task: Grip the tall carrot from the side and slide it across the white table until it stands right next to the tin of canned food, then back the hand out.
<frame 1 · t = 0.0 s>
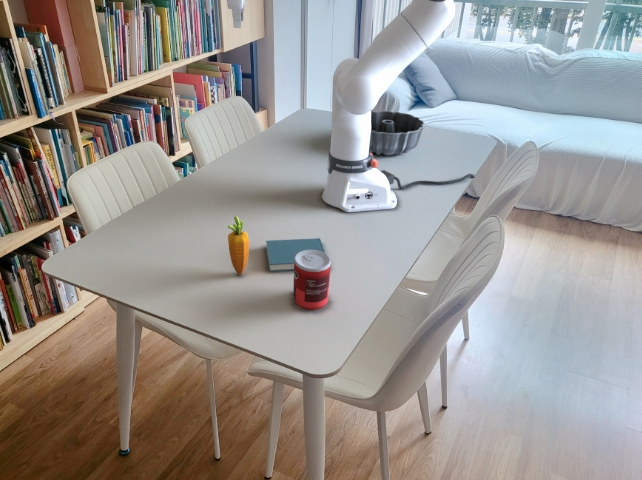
hand: (238, 24, 131), 48 cm above the table, tool pointing down, fingers open, 8 cm apart
canned food: (310, 300, 117), on the table
carrot: (240, 275, 125), on the table
blue hardcover book: (295, 258, 131), on the table
bundt pan: (384, 148, 195), on the table
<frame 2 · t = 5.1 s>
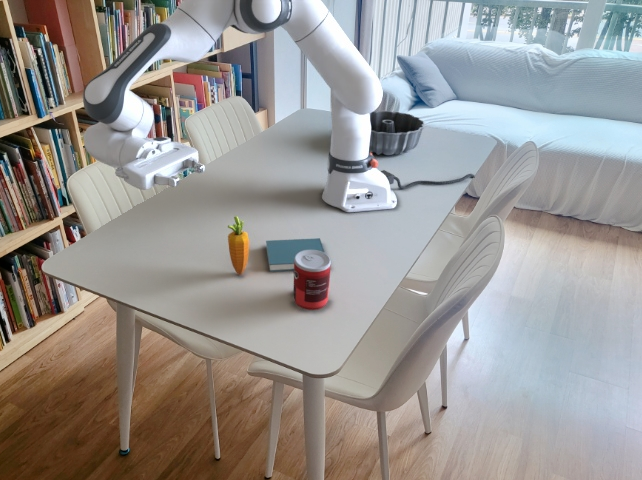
hand: (190, 175, 118), 22 cm above the table, tool horizontal, fingers open, 8 cm apart
nothing on the table moved.
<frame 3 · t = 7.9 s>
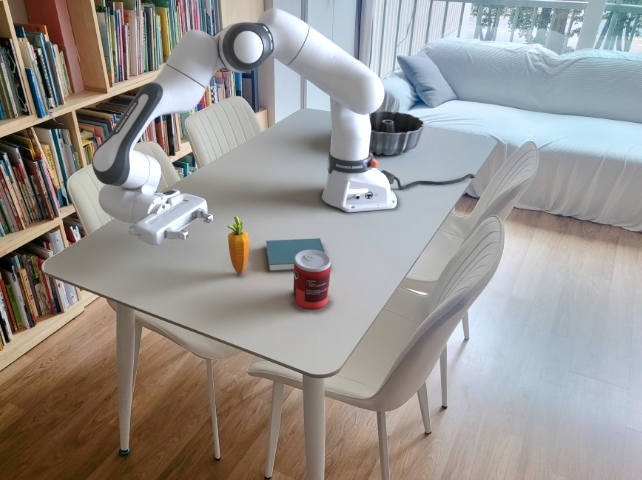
hand: (199, 227, 123), 10 cm above the table, tool horizontal, fingers open, 8 cm apart
nothing on the table moved.
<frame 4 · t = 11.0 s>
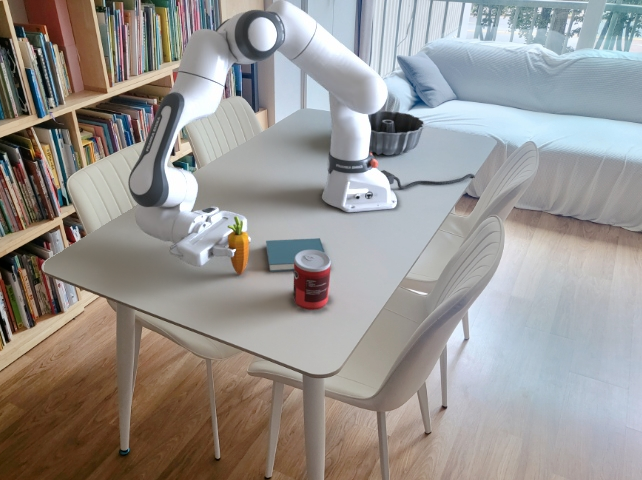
hand: (241, 246, 120), 8 cm above the table, tool horizontal, fingers closed on carrot, 5 cm apart
carrot: (239, 275, 125), on the table, touching gripper
everything else where it was.
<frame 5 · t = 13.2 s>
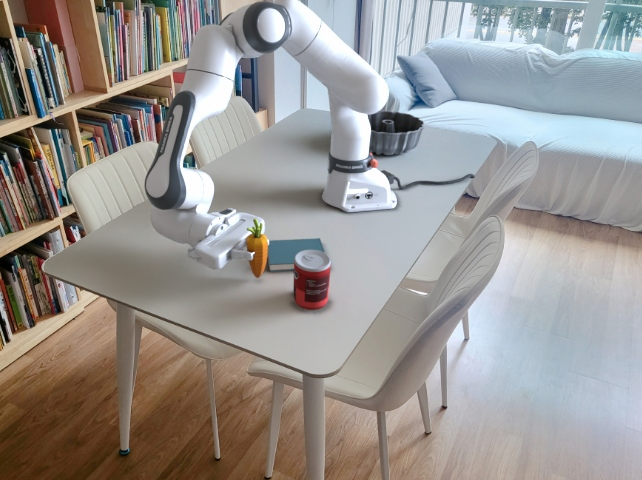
hand: (260, 249, 117), 9 cm above the table, tool horizontal, fingers closed on carrot, 5 cm apart
carrot: (257, 278, 122), point 1 cm above the table, touching gripper
everything else where it was.
when the fingers open (8 cm above the table, at t = 15.2 s): carrot stays where it is, on the table.
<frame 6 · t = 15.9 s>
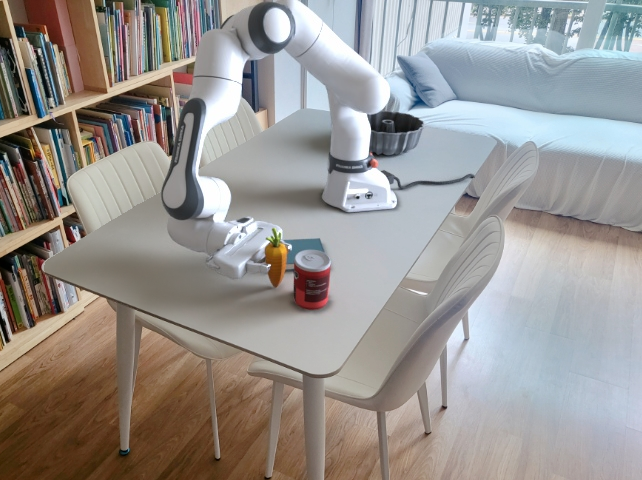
hand: (279, 259, 116), 8 cm above the table, tool horizontal, fingers open, 8 cm apart
carrot: (275, 287, 121), on the table
everything else where it was.
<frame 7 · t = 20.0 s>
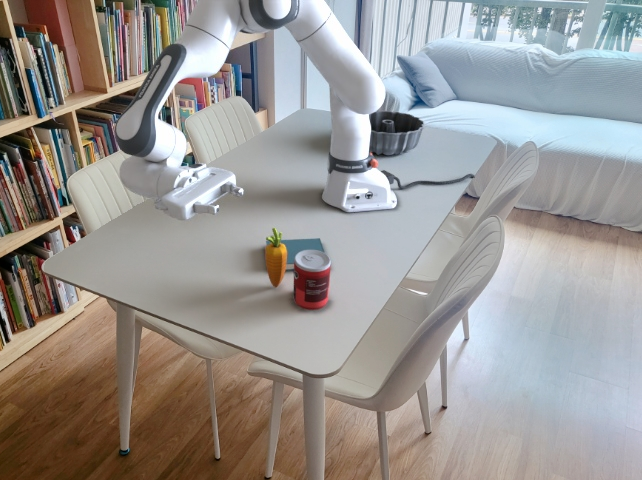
hand: (229, 201, 115), 19 cm above the table, tool horizontal, fingers open, 8 cm apart
nothing on the table moved.
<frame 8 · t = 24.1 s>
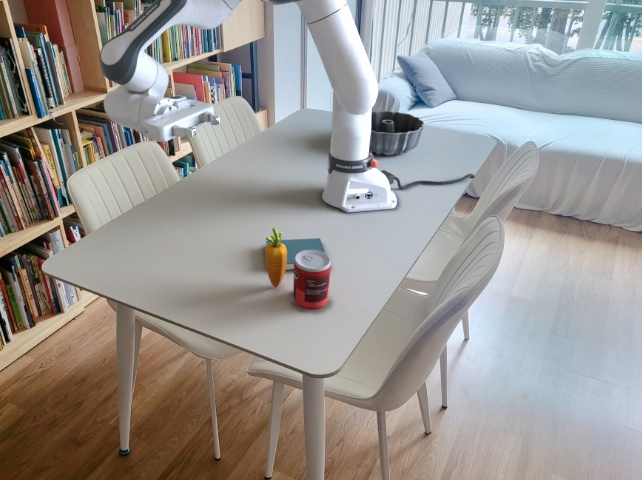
hand: (206, 126, 121), 30 cm above the table, tool horizontal, fingers open, 8 cm apart
nothing on the table moved.
at the end: carrot 9.2 cm from the canned food (horizontally); carrot tilted 0°; carrot moved 10.0 cm from its start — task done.
